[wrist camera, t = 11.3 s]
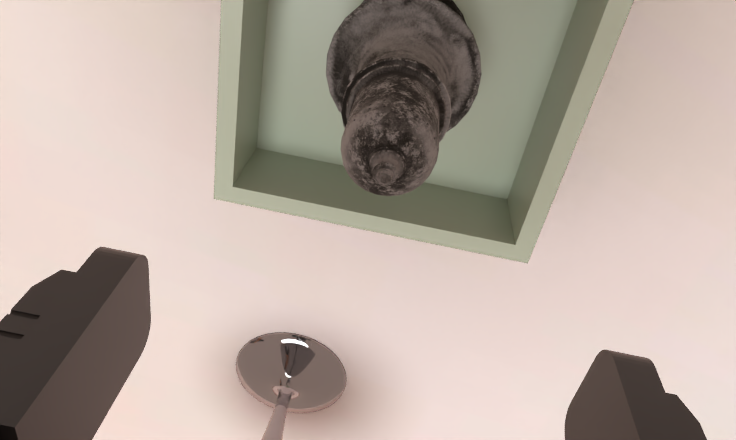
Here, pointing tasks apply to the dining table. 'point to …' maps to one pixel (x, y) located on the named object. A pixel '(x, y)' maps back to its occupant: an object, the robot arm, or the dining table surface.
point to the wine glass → (290, 376)
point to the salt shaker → (400, 88)
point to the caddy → (456, 150)
